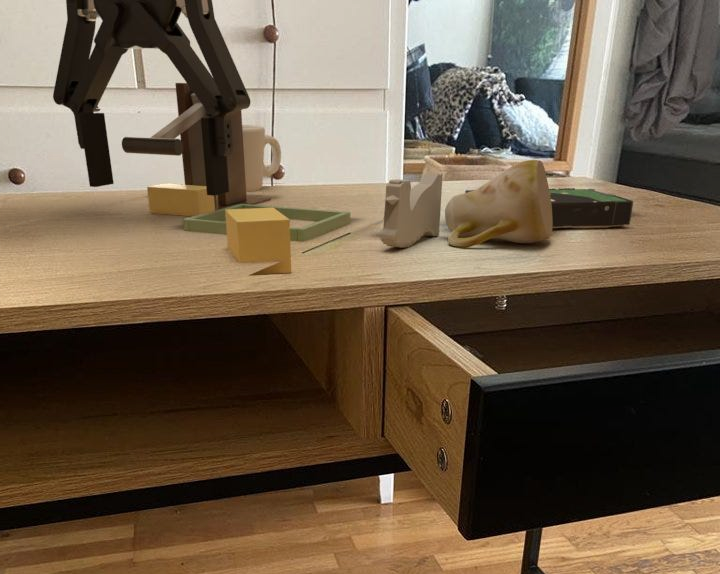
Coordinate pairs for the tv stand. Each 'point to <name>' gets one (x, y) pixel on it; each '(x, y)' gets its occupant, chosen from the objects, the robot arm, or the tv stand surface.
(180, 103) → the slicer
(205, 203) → the butter block
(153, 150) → the lever
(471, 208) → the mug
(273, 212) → the butter pat
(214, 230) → the dish
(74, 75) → the robot arm
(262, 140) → the cup
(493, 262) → the tv stand surface
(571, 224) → the disk drive
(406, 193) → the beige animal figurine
